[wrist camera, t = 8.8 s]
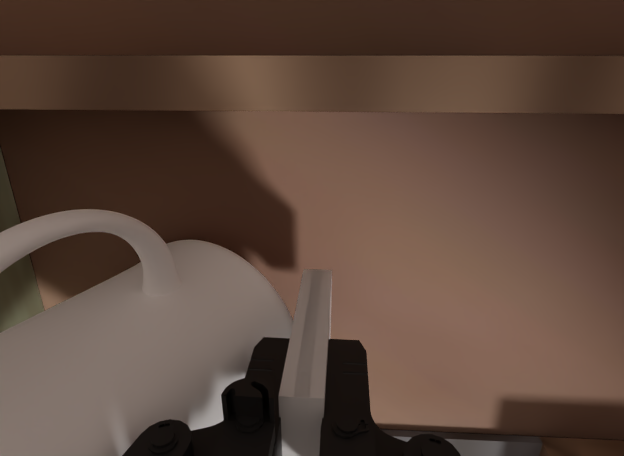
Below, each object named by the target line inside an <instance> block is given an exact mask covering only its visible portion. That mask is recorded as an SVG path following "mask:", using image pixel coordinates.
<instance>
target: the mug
mask: <svg viewBox="0 0 624 456" xmlns="http://www.w3.org/2000/svg"><path fill="white" fill-rule="evenodd" d="M87 232H106V233H111V234H114V235H117V236H119V237H121V238H123V239H124V240H125V241H127V242H128V243H129V244H130V245H131V246H132V247H133V248H134V250H135V251H136V253H137V254H138V256H139V258H140V261H141V262H140V263H138V264H136V265H135V266H133V267H131V268H129V269H127V270H125V271H123V272H122V273H120V274H118V275H116V276H114V277H112V278H110V279H108V280H106V281H104V282H102V283H100V284H98V285H96V286H94V287H92V288H90V289H88V290H86V291H84V292H82V293H79V294H77V295H75V296H73V297H71V298H69V299H67V300H65V301H63V302H61V303H59V304H57V305H55V306H53V307H51V308H49V309H47V310H45V311H43V312H41V313H39V314H37V315H35V316H33V317H31V318H29V319H27V320H25V321H23V322H21V323H19V324H17V325H15V326H13V327H11V328H9V329H7V330H5V331H3V332H1V333H0V456H122V455H123V454H124V453H125V452H126V451H127V449H128V448H129V447H130V446H131V445H132V444H133V442H134V441H135V440H136V439H137V438H138V437H139V435H140V434H141V433H142V432H143V431H145V430H146V429H147V428H148V427H149V426H151V425H153V424H155V423H157V422H159V421H164V420H169V419H172V420H180V421H182V422H184V423H185V424H187V425H188V427H189V428H190V430H191V431H192V430H197V429H202V428H206V427H210V426H213V425H216V424H218V423H220V422H222V421H223V420H224V419H223V409H222V399H221V394H222V393H223V391H224V389H225V388H226V387H227V386H228V385H230V384H231V383H233V382H234V381H237V380H240V379H243V378H245V375H246V372H247V370H248V366H249V362H250V361H251V356H252V353H253V350H254V347H255V346H256V345H257V344H258V343H259V341H260V340H261V339H262V338H263V337H273V338H290V336H291V330H292V325H293V319H292V316H291V314H290V312H289V310H288V308H287V307H286V305H285V303H284V301H283V300H282V298H281V297H280V295H279V294H278V292H277V291H276V290H275V288H274V287H273V286H272V285H271V283H270V282H269V281H268V280H267V279H266V278H265V277H264V276H263V275H262V274H261V273H260V272H259V271H258V270H257V269H256V268H255V267H254V266H253V265H251V264H250V263H249V262H247V261H246V260H245V259H243V258H242V257H240V256H239V255H237V254H236V253H234V252H232V251H230V250H228V249H226V248H224V247H222V246H219V245H216V244H213V243H210V242H206V241H201V240H178V241H174V242H170V243H167V244H166V243H165V242H164V241H163V239H162V238H161V237H160V236H159V235H158V234H157V233H156V232H155V231H154V230H153V229H152V228H150V227H149V226H148V225H146V224H145V223H143V222H141V221H139V220H137V219H135V218H133V217H130V216H128V215H125V214H121V213H118V212H113V211H108V210H99V209H78V210H69V211H62V212H57V213H52V214H48V215H44V216H41V217H37V218H34V219H31V220H28V221H26V222H23V223H21V224H18V225H16V226H13V227H11V228H9V229H7V230H5V231H3V232H0V273H1V272H2V271H4V270H5V269H6V268H8V267H9V266H10V265H12V264H13V263H15V262H16V261H18V260H19V259H21V258H22V257H24V256H26V255H27V254H29V253H31V252H33V251H34V250H36V249H38V248H40V247H42V246H44V245H47V244H49V243H51V242H54V241H56V240H59V239H62V238H65V237H68V236H71V235H76V234H80V233H87Z"/></svg>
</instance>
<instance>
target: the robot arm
mask: <svg viewBox="0 0 624 456" xmlns="http://www.w3.org/2000/svg"><path fill="white" fill-rule="evenodd" d="M331 292H332V270H317V269H304V270H303V275H302V280H301V285H300V290H299V295H298V300H297V305H296V310H295V315H294V320H293V325H292V330H291V336H290V338H273V337H263V338H262V339H261V340H260V341H259V343H258V344H257V345H256V346H255V347H254V350H253V353H252V356H251V361H250V362H249V366H248V370H247V372H246V375H245V378H243V379H240V380H237V381H234V382H233V383H231V384H230V385H228V386H227V387H226V388H225V389H224V391H223V393H222V394H221V399H222V409H223V419H224V420H223V421H222V422H220V423H218V424H216V425H213V426H210V427H206V428H202V429H197V430H192V431H191V430H190V428H189V427H188V425H187V424H185V423H184V422H182V421H180V420H172V419H169V420H164V421H159V422H157V423H155V424H153V425H151V426H149V427H148V428H147V429H146V430H145V431H143V432H142V433H141V434H140V435H139V437H138V438H137V439H136V440H135V441H134V442H133V444H132V445H131V446H130V447H129V448H128V449H127V451H126V452H125V453H124V454H123V455H122V456H461V455H460V453H459V452H458V451H457V449H456V448H455V447H454V446H453V445H452V444H451V443H450V442H448V441H447V440H445V439H444V438H442V437H439V436H436V435H433V434H419V435H416V436H414V437H412V438H411V439H410V440H409V441H408V442H406V441H403V440H400V439H397V438H394V437H392V436H390V435H388V434H386V433H385V432H383V431H382V430H381V429H380V428H379V427H378V426H377V425H376V424H375V423H374V421H373V419H372V417H371V412H370V399H369V385H368V370H367V355H366V350H365V349H364V347H363V346H362V344H361V343H360V341H359V340H339V339H330V331H331Z"/></svg>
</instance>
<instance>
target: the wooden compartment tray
mask: <svg viewBox="0 0 624 456" xmlns="http://www.w3.org/2000/svg"><path fill="white" fill-rule="evenodd" d="M0 109H35V110H171V111H307V112H443V113H578V114H624V56H206V55H0ZM18 224H21V222H20V219H19V215H18V211H17V207H16V204H15V200H14V196H13V193H12V189H11V185H10V182H9V178H8V174H7V171H6V167H5V163H4V159H3V156H2V152H1V148H0V232H3V231H5V230H7V229H9V228H11V227H13V226H16V225H18ZM43 311H44V307H43V304H42V300H41V296H40V293H39V289H38V285H37V281H36V278H35V274H34V270H33V267H32V263H31V259H30V256H29V254H27V255H26V256H24V257H22V258H21V259H19V260H18V261H16V262H15V263H13V264H12V265H10V266H9V267H8V268H6V269H5V270H4V271H2V272H1V273H0V333H1V332H3V331H5V330H7V329H9V328H11V327H13V326H15V325H17V324H19V323H21V322H23V321H25V320H27V319H29V318H31V317H33V316H35V315H37V314H39V313H41V312H43ZM381 430H382V431H383V432H385V433H386V434H388V435H390V436H392V437H394V438H397V439H400V440H403V441H406V442H408V441H409V440H410V439H411V438H412V437H414V436H416V435H419V434H433V435H436V436H439V437H442V438H444V439H445V440H447V441H448V442H450V443H451V444H452V445H453V446H454V447H455V448H456V449H457V451H458V452H459V453H460V455H461V456H624V441H622V440H601V439H579V438H557V437H536V436H514V435H492V434H471V433H449V432H427V431H406V430H384V429H381Z"/></svg>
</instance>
